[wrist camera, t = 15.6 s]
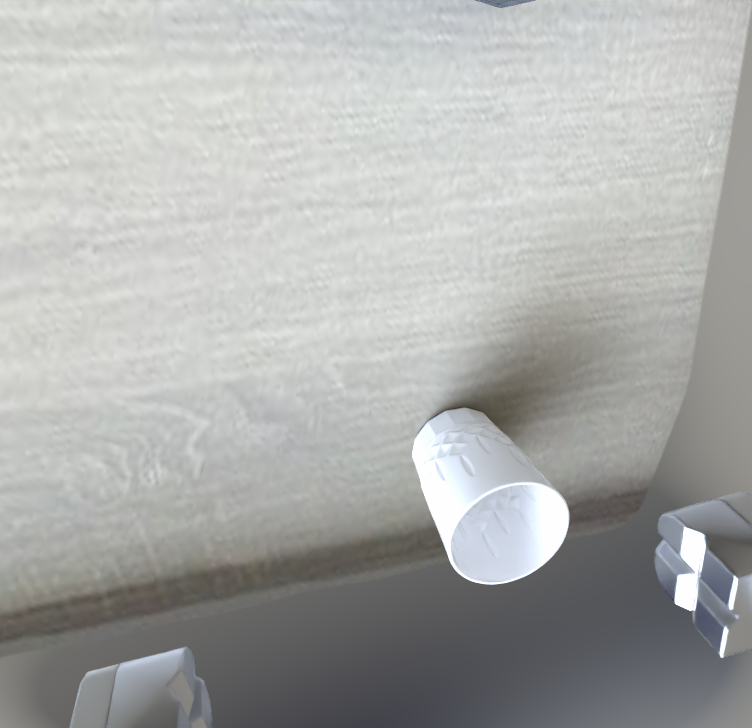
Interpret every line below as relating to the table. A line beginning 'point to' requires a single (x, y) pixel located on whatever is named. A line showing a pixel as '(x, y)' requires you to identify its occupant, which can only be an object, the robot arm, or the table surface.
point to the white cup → (487, 498)
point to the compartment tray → (504, 2)
